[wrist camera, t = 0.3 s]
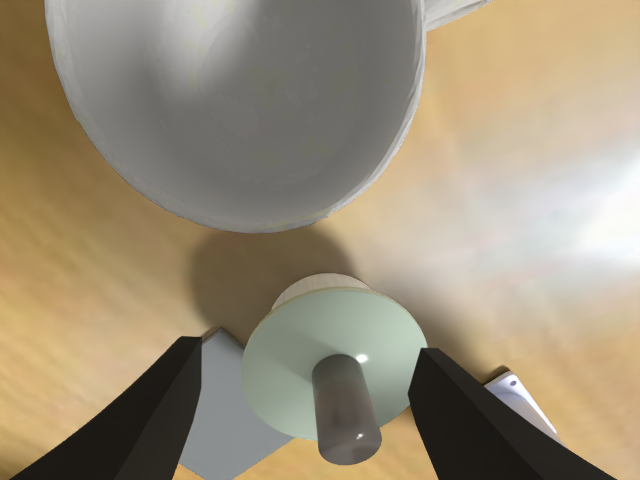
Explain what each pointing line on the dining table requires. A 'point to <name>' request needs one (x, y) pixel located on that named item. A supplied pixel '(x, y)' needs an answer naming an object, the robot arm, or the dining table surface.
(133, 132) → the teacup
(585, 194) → the dining table surface
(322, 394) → the lid
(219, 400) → the mat
